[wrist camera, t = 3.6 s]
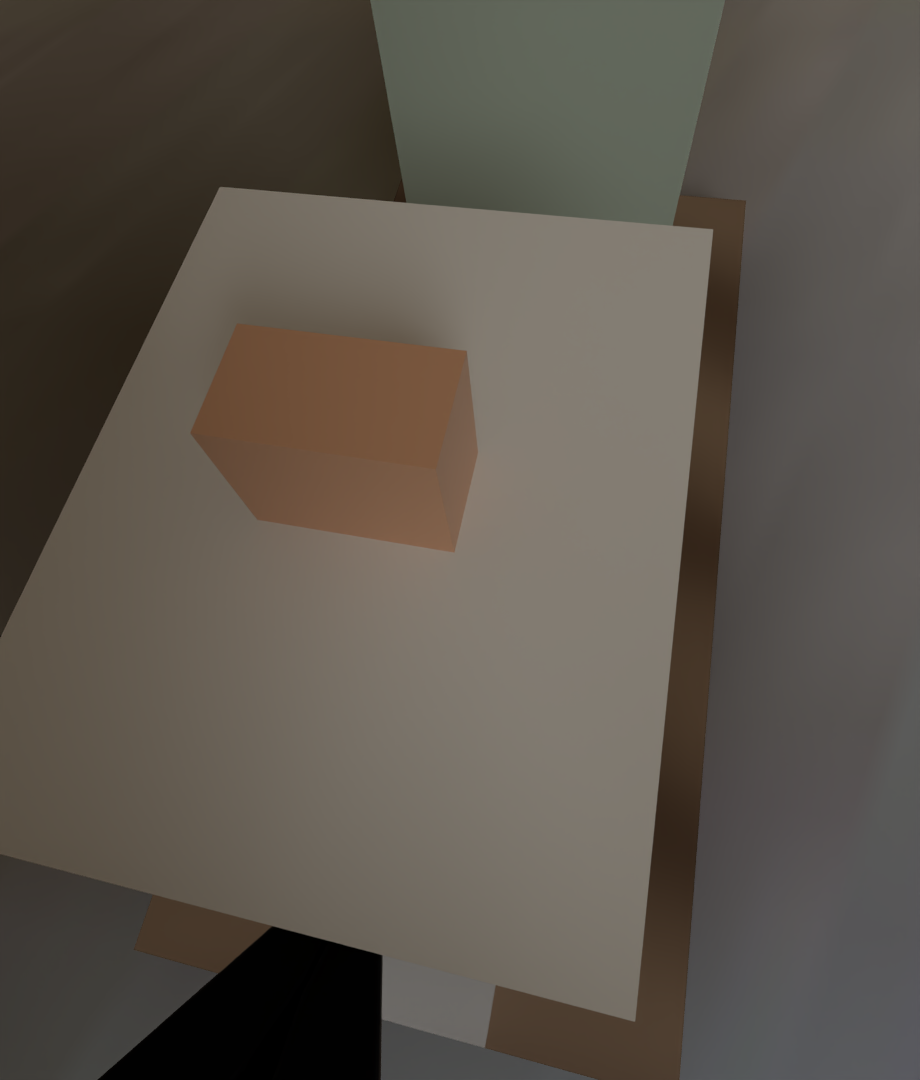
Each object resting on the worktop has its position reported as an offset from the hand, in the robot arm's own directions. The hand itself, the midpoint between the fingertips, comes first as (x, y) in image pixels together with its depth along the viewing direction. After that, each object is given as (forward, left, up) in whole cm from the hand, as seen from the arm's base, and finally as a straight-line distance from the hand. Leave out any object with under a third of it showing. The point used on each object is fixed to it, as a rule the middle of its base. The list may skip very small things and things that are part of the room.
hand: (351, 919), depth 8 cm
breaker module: (+3, -2, -5) cm, 6 cm away
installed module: (+14, -8, -5) cm, 17 cm away
